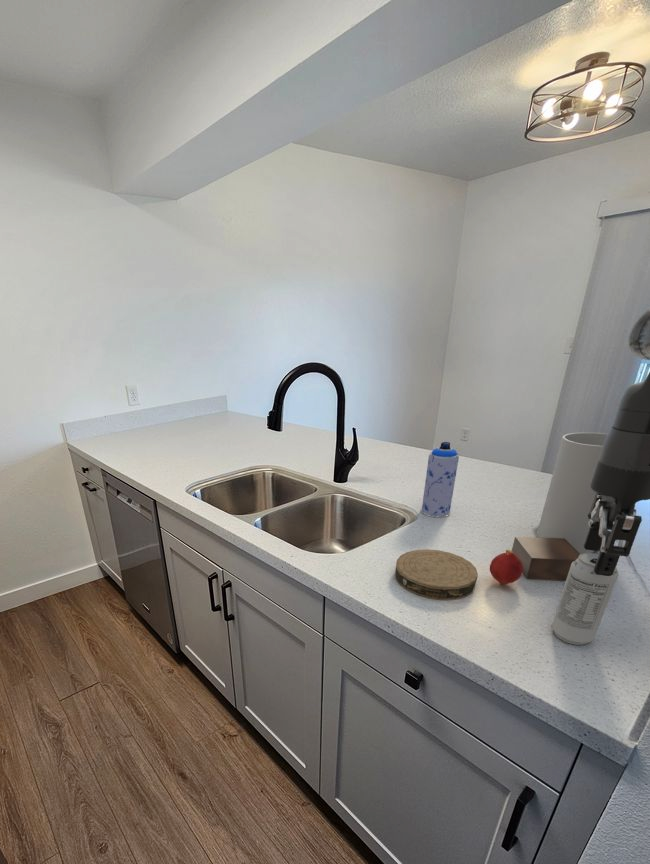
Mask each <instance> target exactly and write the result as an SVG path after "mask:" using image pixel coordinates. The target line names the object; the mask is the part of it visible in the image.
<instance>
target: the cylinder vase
mask: <svg viewBox="0 0 650 864" xmlns="http://www.w3.org/2000/svg"><path fill="white" fill-rule="evenodd" d="M608 434H609V433H604V432H571V433H567V434H564V435H563V436H562V439H561V443H560V446H559V449H558V453H557V457H556V461H555V464H554V469H553V471H552V476H551V479H550V483H549V487H548V490H547V494H546V497H545V501H544V504H543V505H544V506H543V509H542V511H541V512H542V513H541V516H540V520H539V524H538V528H537V531H536V535H535V536H536V537H537V538H565V539H566V540H567V541H568V542H569V543H570V544H571V545H572V546H573V547H574V548H575V549H576V550H577V551H578V552H579V553H580V554H582V553H596V551H592V550H586V549H585V548H584V543H585V540H586V537H587V534H588V531H589V528H591V527H589V524H588V523H589V521H590V519H588V514H589V511H590V508H591V506H592V503H593V500H594V497H595V494H596V492H595V491H593V490H592V489H591V486H590V485H591V482H592V478H593V475H594V472H595V469H596V466H597V463H598V460H599V457H600V454H601V451H602V448H603V445H604V442H605V440H606V438H607V436H608Z"/></svg>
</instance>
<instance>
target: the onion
mask: <svg viewBox="0 0 650 864" xmlns="http://www.w3.org/2000/svg"><path fill="white" fill-rule="evenodd" d="M489 572H490V574H491V576H492V578H494V579H495V580H496V581H497V583H499V584H500V585H503V586H504V585H510V584H512V583H514V582H518V580H519V579H521V577H522V575H523V564H522V562H521V560H520V559H519V557H518V556H516V555H515V554H514V553H513V552H512V549H506V550H505V552H502V553H500V554H498V555H495V557H493V558H492V560H491V562H490V564H489Z"/></svg>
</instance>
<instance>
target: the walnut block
mask: <svg viewBox="0 0 650 864" xmlns="http://www.w3.org/2000/svg"><path fill="white" fill-rule="evenodd" d="M511 551H512V552H513V553H514V554H515V555H516V556H518V557H519V559H520V560H521V562H522V564H523V573H522V575H523V576H524V578H525V579H528V580H545V581H562V582H563V581H565V582H566V579H567V576H568V573H569V570H570V567H571V564H572V562H574V561H575V560H576V559H578V557H579V555H580V553H579V552H578V551H577V550H576V549H575V548H574V547H573V546H572V545H571V544H570V543H569V542H568V541H567V540H566V539H565V538H537V536H536V537H535V536H534V537H531V536H515V537H514V540H513V543H512V547H511Z"/></svg>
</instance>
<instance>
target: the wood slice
mask: <svg viewBox="0 0 650 864" xmlns="http://www.w3.org/2000/svg"><path fill="white" fill-rule="evenodd" d="M395 562H396V563H395V573H394V574H395V575H394V578H395V580H396V582H397V583H398V584H399V585H400V586H401V587H402V588H403V589H404V590H406V591H408V592H410V593H412V594H415V595H417V596H420V597H423V598H427V599H432V600H440V601H450V600H451V601H452V600H459V599H463V598H466V597H468V596H469V595H471V594H472V593H473V592H474V590H475V587H476V585H477V580H478V575H479V574H478V570H477V567H476V566H475V565H474V564H473V563H472V562H471V561H469V560H467V559H466V558H464V557H463V556H460V555H457V554H455V553H452V552H448V551H444V550H440V549H427V548H426V549H413V550H410V551H407V552H405V553H403V554H400V555H399V557H398V558H397V559H396V561H395Z"/></svg>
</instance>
